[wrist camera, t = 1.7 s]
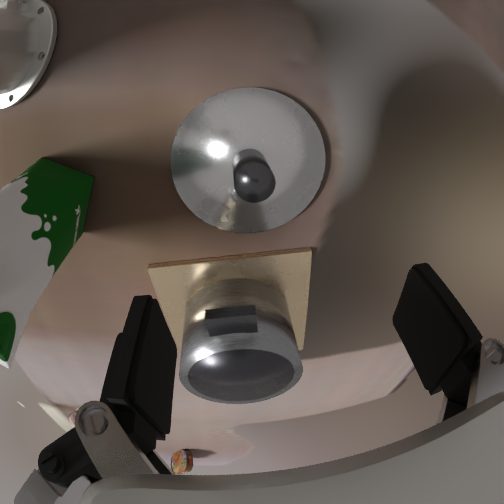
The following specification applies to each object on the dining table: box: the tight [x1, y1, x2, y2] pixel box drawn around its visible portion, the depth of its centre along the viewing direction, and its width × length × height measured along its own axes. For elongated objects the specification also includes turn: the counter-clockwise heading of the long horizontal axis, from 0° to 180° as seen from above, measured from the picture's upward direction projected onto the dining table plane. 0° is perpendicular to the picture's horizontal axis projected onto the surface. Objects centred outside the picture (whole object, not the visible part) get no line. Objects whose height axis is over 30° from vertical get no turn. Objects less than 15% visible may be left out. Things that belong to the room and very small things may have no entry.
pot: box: [147, 247, 312, 404], centre depth 31 cm, size 18×18×10 cm
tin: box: [171, 450, 193, 474], centre depth 70 cm, size 15×3×8 cm, turn 146°
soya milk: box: [0, 158, 95, 369], centre depth 16 cm, size 9×9×20 cm
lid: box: [171, 87, 325, 233], centre depth 22 cm, size 14×14×6 cm
